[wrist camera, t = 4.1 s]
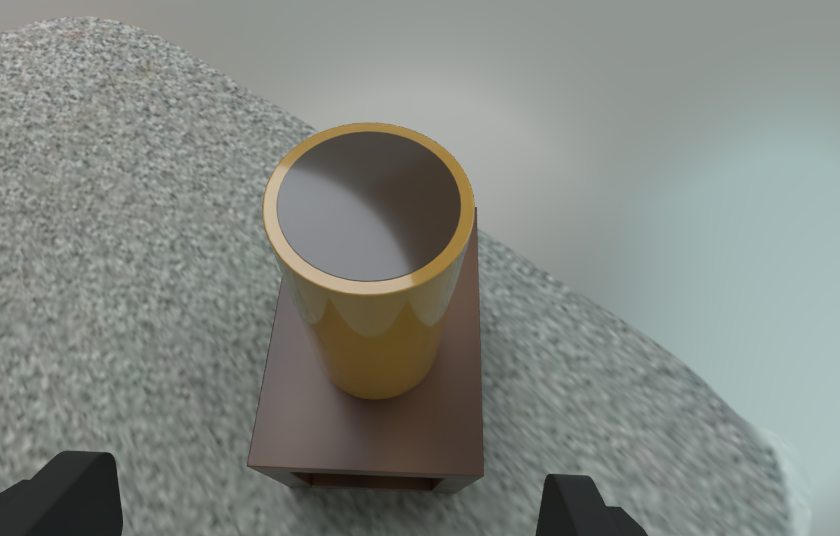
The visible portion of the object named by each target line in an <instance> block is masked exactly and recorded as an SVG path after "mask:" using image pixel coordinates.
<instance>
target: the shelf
mask: <svg viewBox="0 0 840 536" xmlns="http://www.w3.org/2000/svg"><path fill="white" fill-rule="evenodd" d="M247 466H248V467H250V468H252V469H254V470H256V471H258V472H260V473H262V474H264V475H266V476H268V477H270V478H272V479H274V480H276V481H279V482H281V483H283V484H285V485H287V486H289V487H303V488H313V487H314V488H327V489H352V490H377V491H401V492H426V493H430V492H432V493H451V494H455V493H456V492H458V491H460V490H461V489H463V488H465V487H466V486H468V485H470V484H471V483H473V482H474V481H476V480H478V479H480V478H481V477H483V476H484V457H483V420H482V384H481V347H480V310H479V273H478V237H477V208H476V207H475V217H474V223H473V228H472V232H471V235H470V239H469V243H468V246H467V250H466V253H465V257H464V260H463V264H462V268H461V271H460V275H459V278H458V282H457V286H456V289H455V293H454V296H453V300H452V303H451V307H450V311H449V314H448V318H447V321H446V325H445V328H444V332H443V336H442V339H441V343H440V346H439V350H438V353H437V357H436V359H435V362H434V364H433V366H432V368H431V370H430V371H429V372H428V374H427V375H426V376H425V378H424V379H423V380H422V381H421V382H420V383H418V384H417V385H416V386H415V387H413V388H412V389H410V390H409V391H407V392H405V393H403V394H400V395H398V396H395V397H391V398H387V399H374V400H372V399H363V398H359V397H355V396H352V395H350V394H347V393H346V392H344V391H342V390H340V389H339V388H337V387H336V386H335V385H334V384H332V383H331V382H330V381H329V380H328V379H327V377H326V376H325V375H324V373H323V372H322V370H321V369H320V367H319V365H318V363H317V360H316V358H315V355H314V353H313V350H312V348H311V345H310V343H309V340H308V338H307V335H306V333H305V330H304V328H303V325H302V323H301V320H300V318H299V315H298V313H297V310H296V308H295V305H294V303H293V300H292V298H291V295H290V293H289V290H288V288H287V285H286V283H285V280H284V278H283V275H282V281H281V286H280V291H279V297H278V302H277V307H276V313H275V318H274V323H273V329H272V334H271V339H270V345H269V350H268V355H267V361H266V366H265V371H264V377H263V382H262V387H261V393H260V398H259V404H258V409H257V414H256V420H255V425H254V430H253V436H252V441H251V446H250V452H249V457H248V462H247Z"/></svg>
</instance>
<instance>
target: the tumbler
mask: <svg viewBox="0 0 840 536" xmlns="http://www.w3.org/2000/svg"><path fill="white" fill-rule="evenodd" d="M474 217H475V203H474V195H473V192H472V188H471V185H470V183H469V180H468V178H467V175H466V174H465V172H464V171H463V169H462V167H461V166H460V164H459V163H458V162H457V161H456V159H455V158H454V157H453V156H452V155H451V154H450V153H449V152H448V151H447V150H446V149H445V148H443V147H442V146H441V145H439V144H438V143H437V142H435V141H433V140H432V139H430V138H428V137H427V136H425V135H422V134H420V133H418V132H416V131H413V130H410V129H407V128H404V127H400V126H396V125H391V124H383V123H354V124H348V125H342V126H338V127H334V128H331V129H328V130H325V131H323V132H320V133H318V134H316V135H314V136H312V137H310V138H308V139H306V140H305V141H303V142H302V143H300V144H299V145H297V146H296V147H295V148H293V149H292V150H291V151H290V152H289V153H288V154H287V155H286V156H285V157H284V158H283V159H282V160H281V161H280V162H279V164H278V165H277V167H276V168H275V170H274V171H273V173H272V175H271V177H270V179H269V181H268V183H267V186H266V189H265V193H264V197H263V204H262V218H263V223H264V229H265V232H266V235H267V237H268V240H269V243H270V245H271V248H272V250H273V253H274V255H275V258H276V260H277V263H278V265H279V268H280V270H281V273H282V275H283V278H284V280H285V283H286V285H287V288H288V290H289V293H290V295H291V298H292V300H293V303H294V305H295V308H296V310H297V313H298V315H299V318H300V320H301V323H302V325H303V328H304V330H305V333H306V335H307V338H308V340H309V343H310V345H311V348H312V350H313V353H314V355H315V358H316V360H317V363H318V365H319V367H320V369H321V370H322V372H323V373H324V375H325V376H326V377H327V379H328V380H329V381H330V382H331V383H332V384H334V385H335V386H336V387H337V388H339V389H340V390H342V391H344V392H346V393H347V394H350V395H352V396H355V397H359V398H363V399H372V400H374V399H387V398H391V397H395V396H398V395H400V394H403V393H405V392H407V391H409V390H410V389H412V388H413V387H415V386H416V385H417V384H418V383H420V382H421V381H422V380H423V379H424V378H425V376H426V375H427V374H428V372H429V371H430V370H431V368H432V366H433V364H434V362H435V359H436V357H437V353H438V350H439V346H440V343H441V339H442V336H443V332H444V328H445V325H446V321H447V318H448V314H449V311H450V307H451V303H452V300H453V296H454V293H455V289H456V286H457V282H458V278H459V275H460V271H461V268H462V264H463V260H464V257H465V253H466V250H467V246H468V243H469V239H470V235H471V232H472V228H473V223H474Z"/></svg>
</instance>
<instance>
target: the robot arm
mask: <svg viewBox="0 0 840 536" xmlns="http://www.w3.org/2000/svg"><path fill="white" fill-rule="evenodd" d="M122 528H123V516H122V508H121V501H120V493H119V485H118V477H117V469H116V462H115V459H114V457H113V455H112V454H111V453H108V452H87V451H63V452H61V453H59V454H57V455H56V456H55V457H54V458H53V459H52V460H51V461H50V462H49V463H48V464H46V465H45V466H44V467H43V468H42V469H41V470H40V471H39V472H38V473H37V474H36V475H35V476H34V477H33V478H32V479H31V480H22V481H20V482H18V483H17V484H15V485H13V486H12V487H10V488H8V489H6V490H5V491H3V492H1V493H0V536H121V534H122ZM536 536H648V535H647V533H646V532H645V530H644V529H643V528H642V527H641V526H640V525H639V524H638V523H637V522H636V521H635V520H633V519H632V518H631V517H630V516H629V515H628V514H627V513H626V512H625V511H624V510H623V509H622V508H621V507H609V506H606V505H605V503H604V501H603V499H602V497H601V495H600V493H599V491H598V489H597V487H596V485H595V483H594V482H593V480H592V479H591V477H589V476H585V475H563V474H548V475H547V477H546V479H545V483H544V488H543V494H542V500H541V506H540V512H539V518H538V524H537V530H536Z"/></svg>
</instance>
